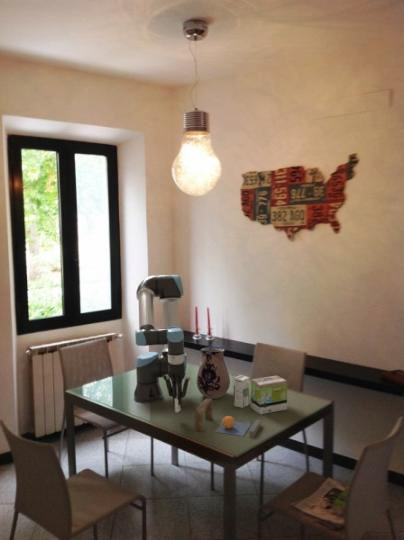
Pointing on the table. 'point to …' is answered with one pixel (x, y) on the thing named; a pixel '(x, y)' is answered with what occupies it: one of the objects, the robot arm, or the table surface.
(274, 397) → the tea box
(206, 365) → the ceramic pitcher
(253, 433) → the stopper
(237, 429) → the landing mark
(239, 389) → the syrup box
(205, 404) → the bridge
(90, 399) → the table surface
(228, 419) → the ball
